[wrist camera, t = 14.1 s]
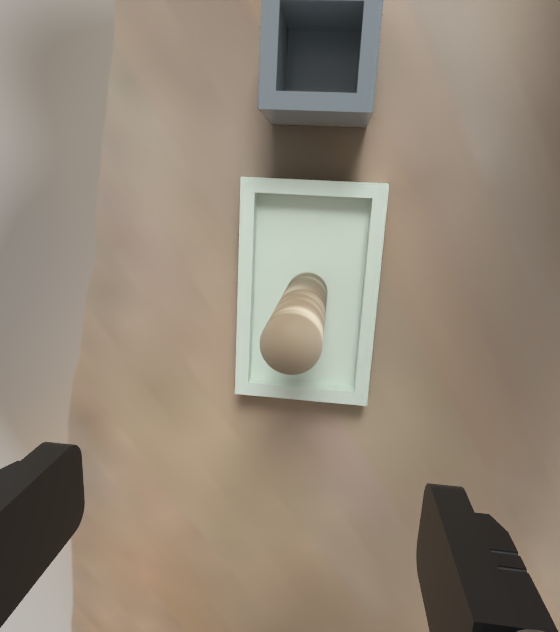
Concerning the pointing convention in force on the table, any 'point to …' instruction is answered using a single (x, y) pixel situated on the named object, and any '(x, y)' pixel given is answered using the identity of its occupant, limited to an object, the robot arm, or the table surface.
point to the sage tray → (321, 259)
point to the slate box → (319, 61)
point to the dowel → (296, 326)
